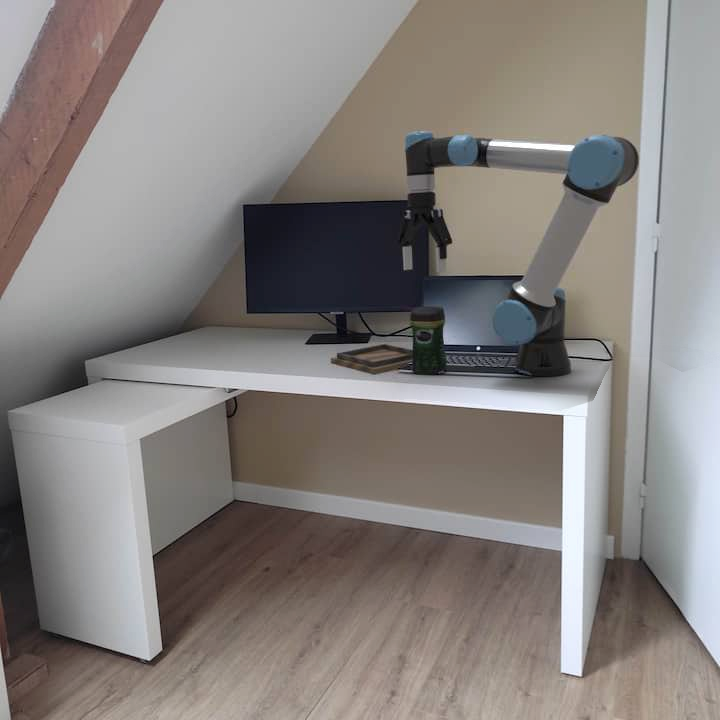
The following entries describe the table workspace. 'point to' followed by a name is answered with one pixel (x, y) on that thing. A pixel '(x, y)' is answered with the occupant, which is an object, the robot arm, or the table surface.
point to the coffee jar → (428, 340)
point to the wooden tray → (374, 358)
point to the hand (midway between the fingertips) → (424, 270)
